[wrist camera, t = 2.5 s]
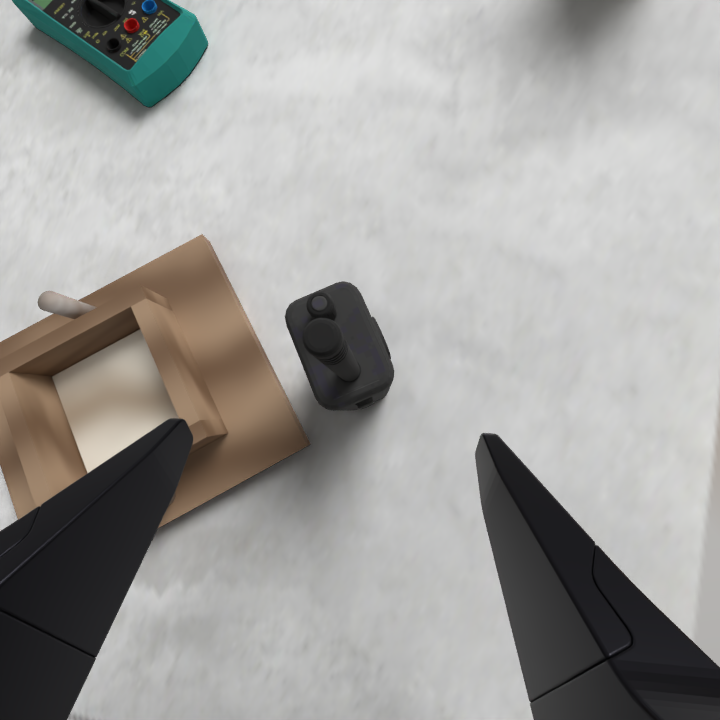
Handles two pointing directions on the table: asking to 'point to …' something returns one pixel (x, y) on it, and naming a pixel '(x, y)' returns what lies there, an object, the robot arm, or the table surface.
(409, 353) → the table surface
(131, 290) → the wooden frame board
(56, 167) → the table surface
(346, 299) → the walkie-talkie
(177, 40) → the digital multimeter
